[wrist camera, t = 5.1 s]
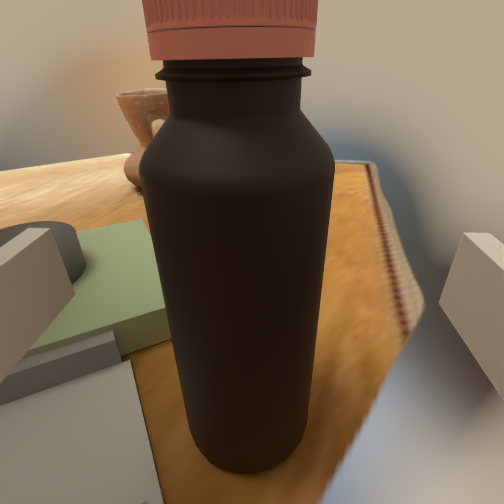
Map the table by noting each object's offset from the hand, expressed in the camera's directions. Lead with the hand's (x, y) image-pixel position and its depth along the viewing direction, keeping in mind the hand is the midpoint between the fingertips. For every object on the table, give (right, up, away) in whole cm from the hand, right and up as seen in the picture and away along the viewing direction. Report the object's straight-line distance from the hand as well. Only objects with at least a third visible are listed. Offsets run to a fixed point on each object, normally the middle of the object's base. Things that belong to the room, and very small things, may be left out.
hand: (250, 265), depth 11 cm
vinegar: (0, -9, +8) cm, 12 cm away
